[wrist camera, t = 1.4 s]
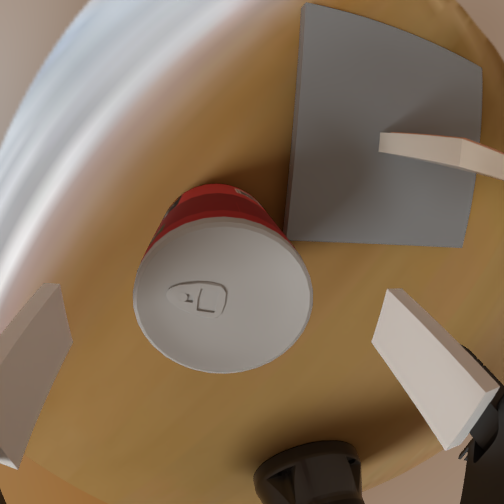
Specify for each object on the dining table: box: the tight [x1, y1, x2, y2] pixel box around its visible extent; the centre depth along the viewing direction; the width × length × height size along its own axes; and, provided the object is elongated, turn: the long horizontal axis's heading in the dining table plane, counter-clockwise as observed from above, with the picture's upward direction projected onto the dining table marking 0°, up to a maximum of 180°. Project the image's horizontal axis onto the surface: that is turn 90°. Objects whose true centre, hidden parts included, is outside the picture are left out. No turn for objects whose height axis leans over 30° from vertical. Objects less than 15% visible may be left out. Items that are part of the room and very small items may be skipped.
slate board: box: [283, 3, 482, 248], centre depth 22 cm, size 18×18×1 cm
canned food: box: [133, 184, 313, 373], centre depth 19 cm, size 8×8×11 cm
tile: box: [378, 132, 504, 181], centre depth 18 cm, size 2×7×9 cm, turn 86°
